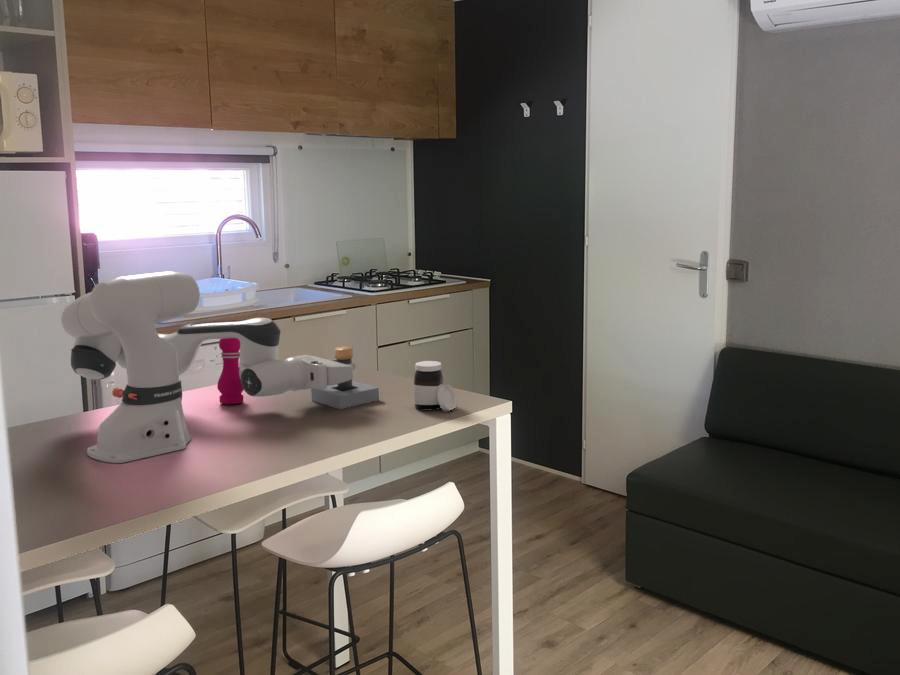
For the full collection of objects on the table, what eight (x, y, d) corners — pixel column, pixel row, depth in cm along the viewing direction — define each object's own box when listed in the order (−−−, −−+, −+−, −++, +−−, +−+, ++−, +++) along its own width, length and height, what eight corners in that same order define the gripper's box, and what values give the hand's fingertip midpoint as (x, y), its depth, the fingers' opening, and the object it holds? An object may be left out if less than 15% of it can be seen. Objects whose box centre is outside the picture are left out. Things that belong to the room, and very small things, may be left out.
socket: (339, 409, 221) (339, 396, 220) (311, 400, 230) (311, 387, 230) (378, 400, 230) (378, 387, 229) (350, 392, 239) (350, 380, 238)
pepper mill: (240, 404, 224) (239, 328, 223) (214, 404, 225) (212, 328, 224) (248, 400, 232) (247, 327, 231) (222, 400, 232) (221, 327, 231)
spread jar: (417, 401, 228) (416, 359, 226) (459, 402, 227) (458, 359, 225) (410, 413, 216) (410, 369, 214) (455, 414, 215) (454, 369, 213)
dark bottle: (350, 401, 227) (348, 351, 224) (333, 400, 228) (331, 350, 225) (357, 396, 232) (355, 347, 228) (340, 395, 233) (338, 346, 230)
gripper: (282, 377, 228) (325, 369, 237) (325, 390, 213) (369, 381, 222) (281, 354, 227) (324, 347, 236) (324, 366, 212) (368, 358, 221)
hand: (346, 364), depth 229 cm, fingers open, 5 cm apart
